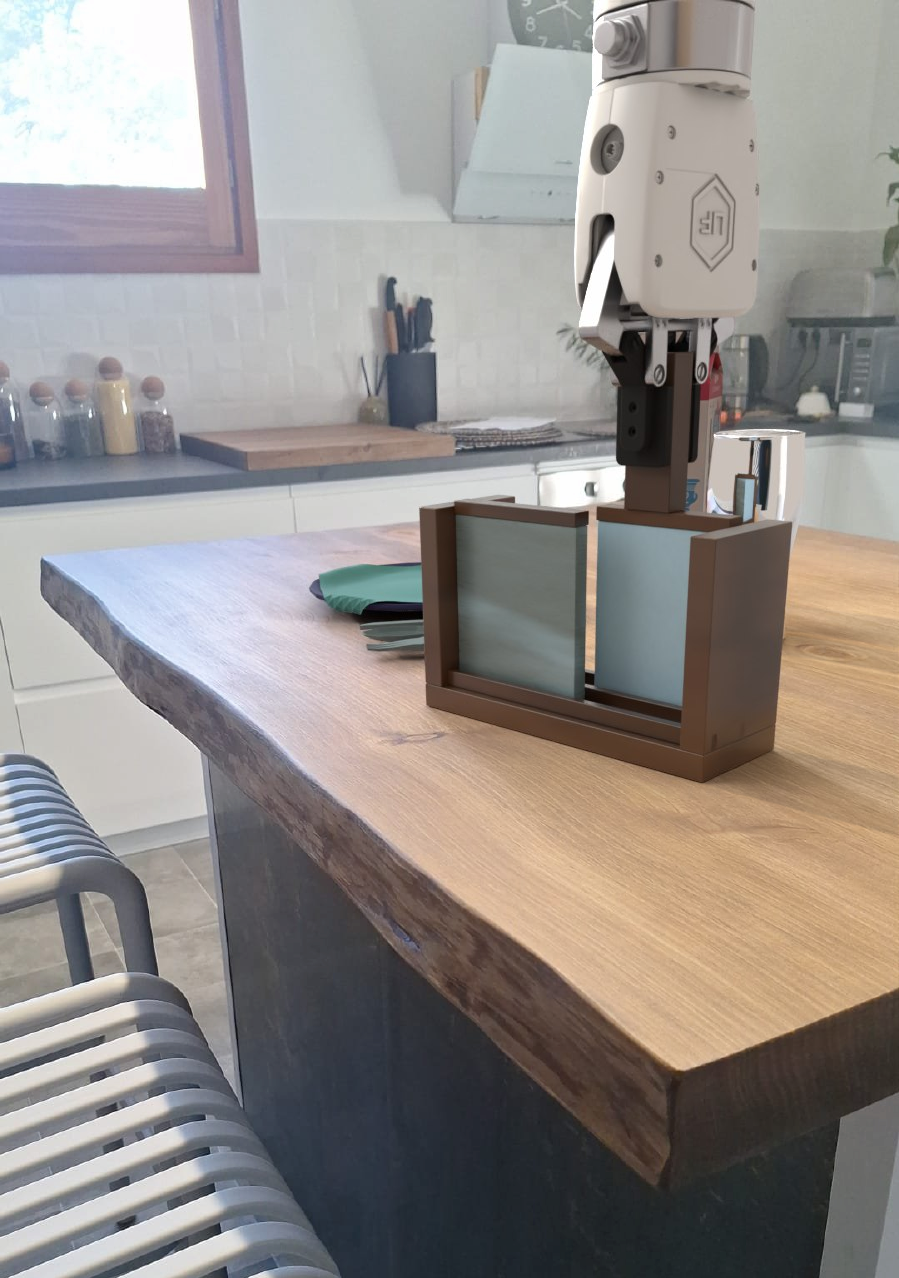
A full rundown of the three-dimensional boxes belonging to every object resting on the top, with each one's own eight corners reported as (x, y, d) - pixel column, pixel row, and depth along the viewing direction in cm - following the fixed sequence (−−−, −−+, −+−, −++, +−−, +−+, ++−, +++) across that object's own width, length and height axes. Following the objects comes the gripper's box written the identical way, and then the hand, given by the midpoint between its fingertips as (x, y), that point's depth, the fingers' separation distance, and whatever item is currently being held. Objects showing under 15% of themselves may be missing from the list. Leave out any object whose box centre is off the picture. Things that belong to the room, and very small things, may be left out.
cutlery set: (507, 576, 113) (507, 553, 112) (584, 648, 86) (585, 618, 85) (307, 587, 111) (305, 563, 110) (319, 665, 83) (317, 634, 82)
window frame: (500, 682, 78) (498, 489, 73) (774, 749, 63) (793, 515, 59) (425, 705, 73) (418, 501, 68) (702, 783, 59) (716, 532, 54)
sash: (607, 685, 69) (615, 353, 62) (732, 713, 63) (756, 350, 56) (590, 690, 68) (596, 354, 61) (715, 720, 62) (738, 351, 55)
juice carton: (638, 589, 106) (646, 333, 97) (710, 592, 103) (725, 330, 95) (621, 603, 100) (629, 333, 92) (697, 607, 98) (712, 330, 89)
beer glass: (679, 637, 88) (689, 434, 82) (733, 622, 92) (746, 427, 87) (756, 652, 83) (772, 437, 78) (809, 635, 87) (828, 430, 82)
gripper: (634, 22, 47) (621, 482, 54) (825, 73, 57) (794, 455, 64) (501, 57, 52) (505, 474, 59) (699, 98, 62) (683, 449, 69)
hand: (656, 461), depth 61 cm, fingers closed on sash
